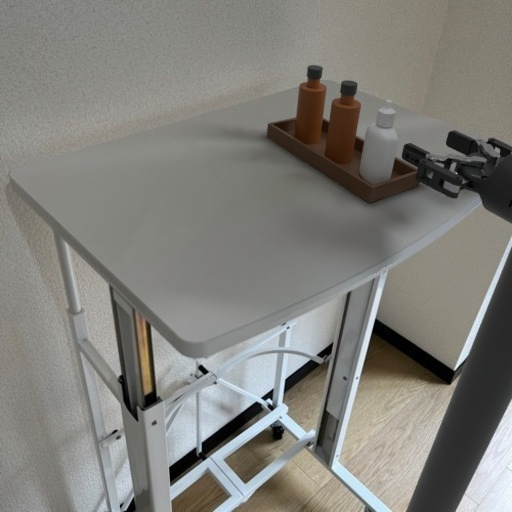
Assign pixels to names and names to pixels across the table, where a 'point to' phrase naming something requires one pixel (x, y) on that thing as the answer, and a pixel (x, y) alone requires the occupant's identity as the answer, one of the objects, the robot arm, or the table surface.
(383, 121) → the eye dropper bottle
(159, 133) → the table surface
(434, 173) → the robot arm
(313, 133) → the amber bottle far
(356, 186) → the tray
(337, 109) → the amber bottle middle
